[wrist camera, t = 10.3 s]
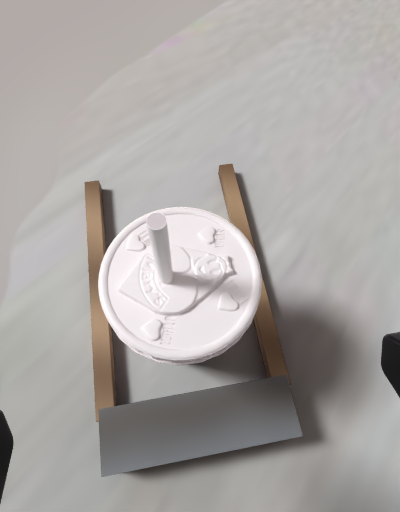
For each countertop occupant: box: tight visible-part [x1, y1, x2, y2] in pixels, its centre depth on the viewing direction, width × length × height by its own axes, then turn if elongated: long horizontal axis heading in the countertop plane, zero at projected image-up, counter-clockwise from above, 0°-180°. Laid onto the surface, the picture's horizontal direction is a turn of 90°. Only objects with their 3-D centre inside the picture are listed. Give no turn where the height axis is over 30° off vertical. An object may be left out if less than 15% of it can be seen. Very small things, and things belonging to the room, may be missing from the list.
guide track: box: [85, 164, 303, 477], centre depth 22 cm, size 18×11×2 cm, turn 10°
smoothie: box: [98, 207, 262, 365], centre depth 16 cm, size 6×6×14 cm
